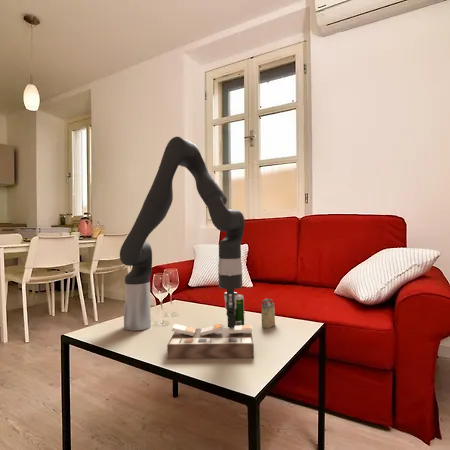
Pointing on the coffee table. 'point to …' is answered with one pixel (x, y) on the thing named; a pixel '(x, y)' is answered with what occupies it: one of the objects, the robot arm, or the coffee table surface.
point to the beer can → (239, 310)
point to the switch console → (211, 345)
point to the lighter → (268, 313)
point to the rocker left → (183, 329)
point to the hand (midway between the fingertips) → (231, 327)
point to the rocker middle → (212, 329)
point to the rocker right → (241, 329)
